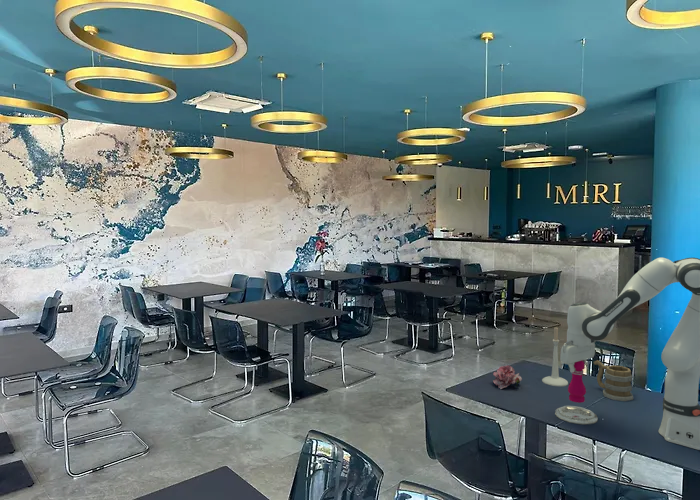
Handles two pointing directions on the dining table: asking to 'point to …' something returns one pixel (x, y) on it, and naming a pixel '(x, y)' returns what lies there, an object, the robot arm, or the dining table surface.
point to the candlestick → (555, 366)
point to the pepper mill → (577, 384)
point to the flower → (506, 377)
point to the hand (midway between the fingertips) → (577, 370)
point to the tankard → (615, 382)
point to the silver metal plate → (576, 415)
